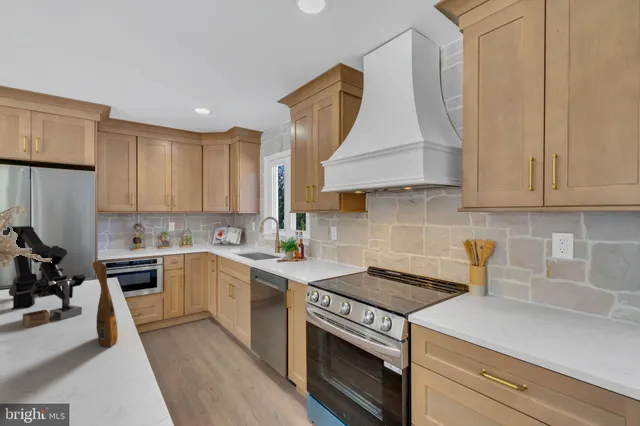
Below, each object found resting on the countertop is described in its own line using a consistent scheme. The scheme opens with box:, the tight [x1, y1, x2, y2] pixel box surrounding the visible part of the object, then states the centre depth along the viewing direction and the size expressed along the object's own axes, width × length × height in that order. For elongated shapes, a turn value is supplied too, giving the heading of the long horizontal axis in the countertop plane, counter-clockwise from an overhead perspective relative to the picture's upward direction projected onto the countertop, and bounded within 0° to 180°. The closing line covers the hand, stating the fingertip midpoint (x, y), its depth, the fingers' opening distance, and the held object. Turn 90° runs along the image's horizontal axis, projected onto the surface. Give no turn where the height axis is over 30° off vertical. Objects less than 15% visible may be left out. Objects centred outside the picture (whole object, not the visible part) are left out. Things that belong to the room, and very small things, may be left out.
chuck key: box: [56, 280, 75, 311], centre depth 132 cm, size 6×3×15 cm, turn 158°
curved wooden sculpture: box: [92, 260, 119, 348], centre depth 107 cm, size 7×19×28 cm, turn 39°
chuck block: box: [48, 304, 83, 321], centre depth 132 cm, size 8×8×3 cm
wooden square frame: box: [22, 309, 50, 328], centre depth 123 cm, size 7×7×4 cm
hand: (67, 298), depth 131 cm, fingers closed on chuck key, 3 cm apart
